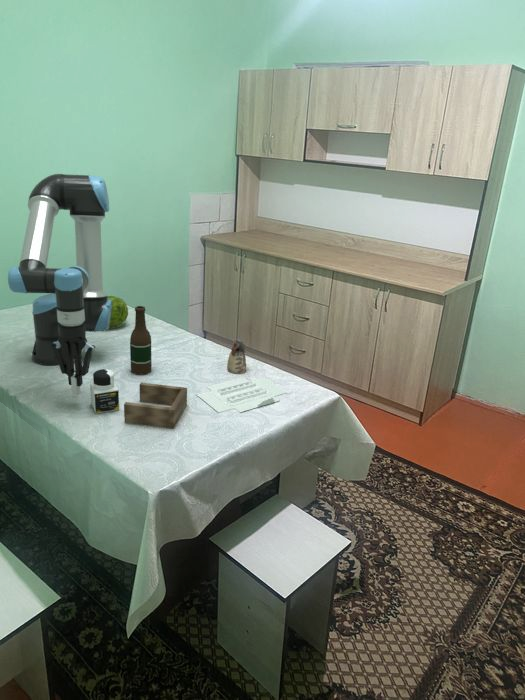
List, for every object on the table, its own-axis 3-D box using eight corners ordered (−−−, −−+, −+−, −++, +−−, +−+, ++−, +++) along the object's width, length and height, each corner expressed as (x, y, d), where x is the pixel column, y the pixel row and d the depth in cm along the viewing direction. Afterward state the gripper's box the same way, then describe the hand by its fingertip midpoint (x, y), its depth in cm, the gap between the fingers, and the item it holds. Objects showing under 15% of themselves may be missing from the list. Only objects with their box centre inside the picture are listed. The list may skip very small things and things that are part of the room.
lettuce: (112, 322, 246) (112, 293, 245) (131, 328, 228) (132, 297, 226) (81, 322, 238) (81, 292, 236) (99, 328, 219) (99, 296, 218)
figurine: (250, 370, 197) (252, 340, 193) (236, 375, 192) (238, 345, 188) (236, 364, 202) (238, 334, 197) (223, 369, 197) (224, 339, 192)
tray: (190, 393, 179) (191, 383, 178) (257, 378, 195) (258, 369, 194) (224, 420, 164) (225, 409, 163) (293, 401, 181) (294, 391, 179)
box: (124, 422, 157) (123, 404, 155) (141, 399, 171) (141, 382, 169) (174, 428, 156) (174, 410, 154) (186, 404, 170) (187, 387, 168)
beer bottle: (147, 376, 187) (146, 311, 177) (126, 373, 188) (124, 308, 179) (155, 368, 194) (155, 305, 185) (135, 365, 195) (134, 302, 186)
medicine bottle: (95, 414, 161) (93, 378, 156) (91, 403, 166) (88, 368, 162) (119, 410, 164) (118, 374, 159) (114, 399, 170) (112, 365, 165)
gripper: (43, 324, 153) (50, 397, 161) (87, 328, 152) (91, 402, 160) (56, 316, 160) (62, 387, 168) (98, 320, 159) (101, 391, 167)
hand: (76, 394), depth 164 cm, fingers closed
